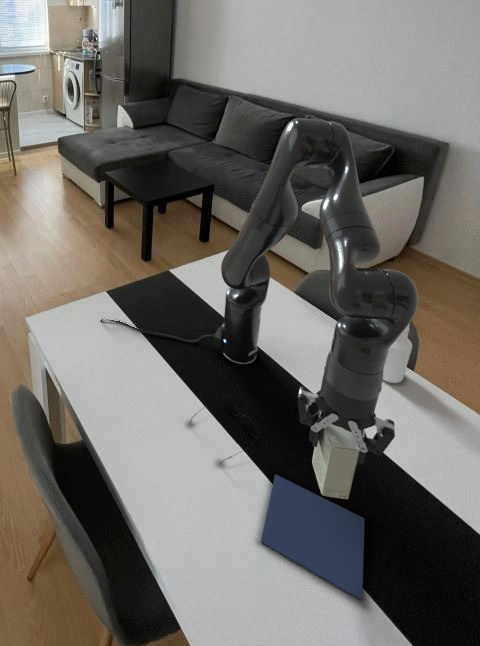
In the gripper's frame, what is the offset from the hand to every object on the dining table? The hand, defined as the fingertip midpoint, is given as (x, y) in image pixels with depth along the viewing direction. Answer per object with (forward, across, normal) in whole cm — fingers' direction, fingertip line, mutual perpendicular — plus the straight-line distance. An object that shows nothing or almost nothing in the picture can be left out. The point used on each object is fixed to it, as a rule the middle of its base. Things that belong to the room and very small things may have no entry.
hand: (334, 450), depth 73 cm
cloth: (+22, 0, +1) cm, 22 cm away
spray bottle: (+22, -12, -48) cm, 54 cm away
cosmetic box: (+8, 0, 0) cm, 8 cm away
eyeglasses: (+22, +20, -10) cm, 32 cm away
